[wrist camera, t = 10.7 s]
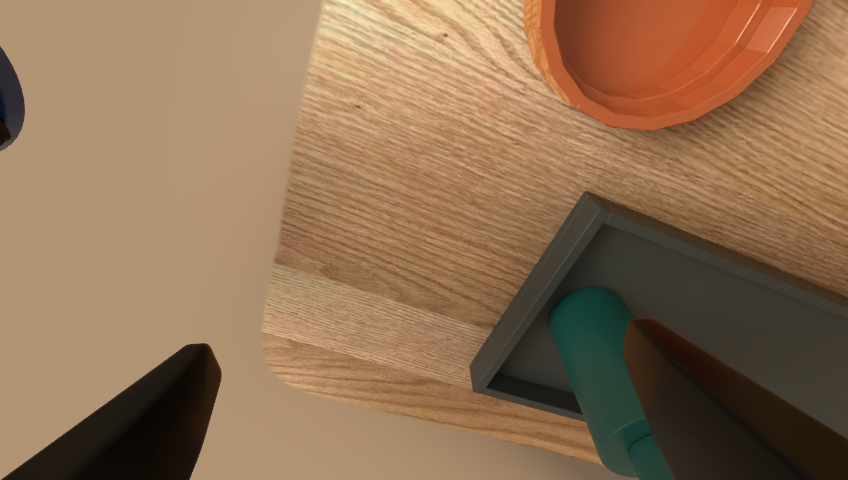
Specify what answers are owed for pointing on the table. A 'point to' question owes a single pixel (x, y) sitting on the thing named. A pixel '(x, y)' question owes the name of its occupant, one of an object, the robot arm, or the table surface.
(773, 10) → the bowl
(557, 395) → the tray
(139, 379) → the robot arm
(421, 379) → the table surface
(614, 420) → the bottle
